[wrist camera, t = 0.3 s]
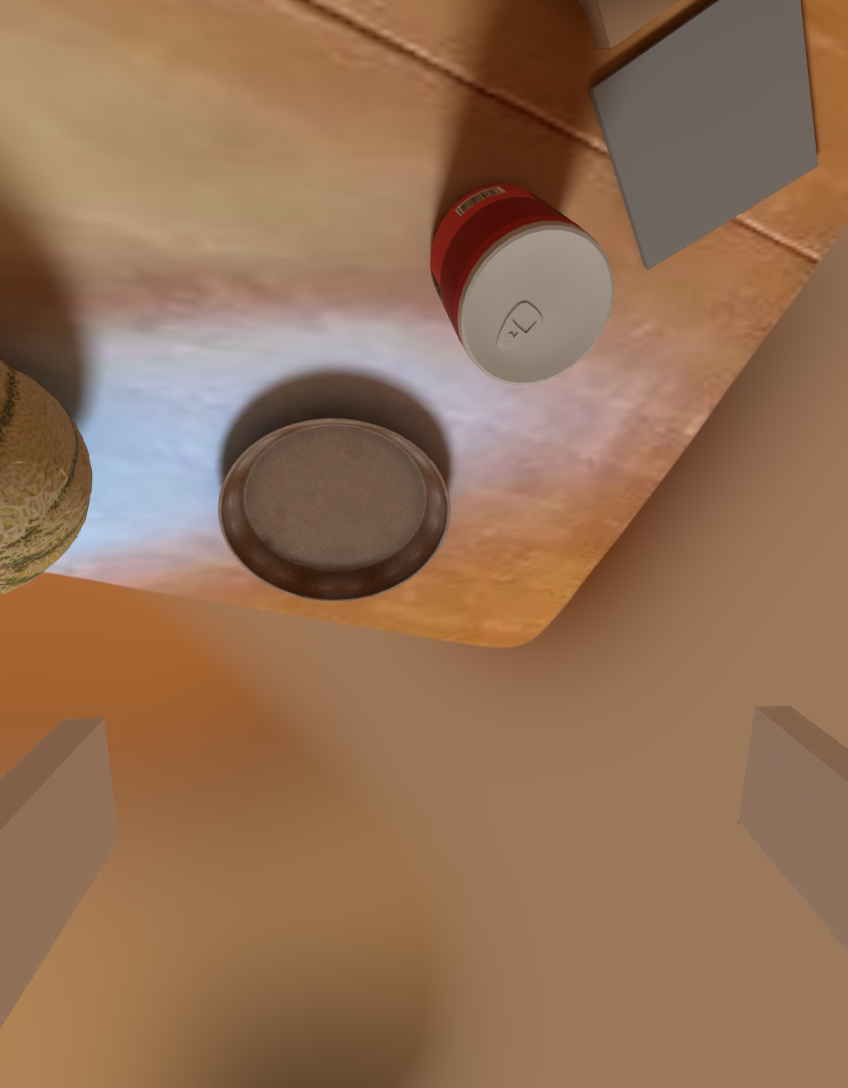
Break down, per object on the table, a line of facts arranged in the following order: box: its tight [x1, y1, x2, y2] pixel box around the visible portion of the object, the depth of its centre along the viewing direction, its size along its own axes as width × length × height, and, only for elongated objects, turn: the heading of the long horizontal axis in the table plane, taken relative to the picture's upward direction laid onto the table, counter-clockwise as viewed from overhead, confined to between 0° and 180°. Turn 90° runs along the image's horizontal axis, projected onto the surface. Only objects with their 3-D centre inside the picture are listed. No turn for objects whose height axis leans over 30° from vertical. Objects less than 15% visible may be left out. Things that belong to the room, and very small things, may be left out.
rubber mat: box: [589, 0, 818, 270], centre depth 35 cm, size 11×11×1 cm
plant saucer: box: [218, 418, 450, 602], centre depth 47 cm, size 18×18×3 cm
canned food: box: [430, 184, 614, 385], centre depth 34 cm, size 8×8×11 cm
